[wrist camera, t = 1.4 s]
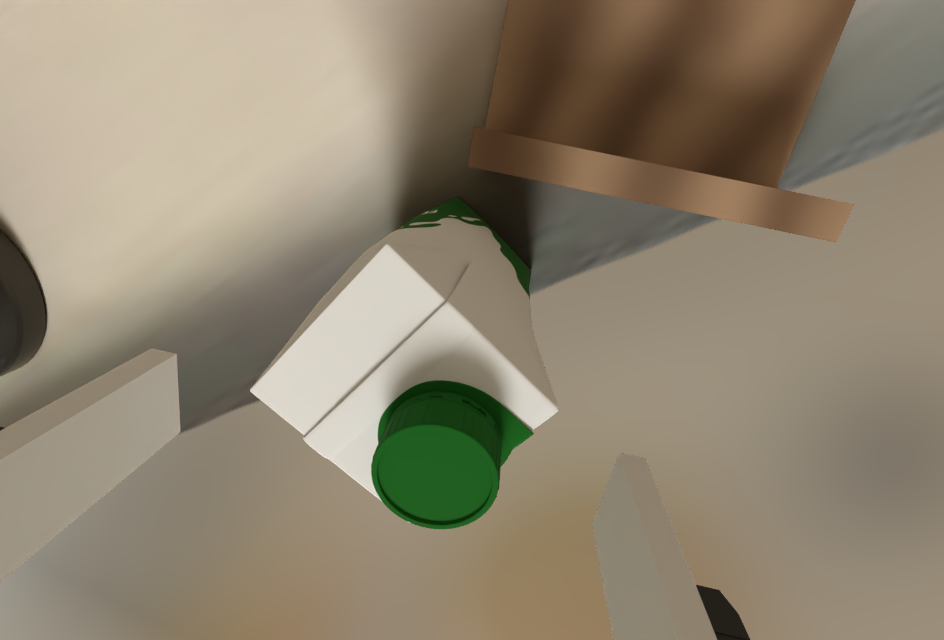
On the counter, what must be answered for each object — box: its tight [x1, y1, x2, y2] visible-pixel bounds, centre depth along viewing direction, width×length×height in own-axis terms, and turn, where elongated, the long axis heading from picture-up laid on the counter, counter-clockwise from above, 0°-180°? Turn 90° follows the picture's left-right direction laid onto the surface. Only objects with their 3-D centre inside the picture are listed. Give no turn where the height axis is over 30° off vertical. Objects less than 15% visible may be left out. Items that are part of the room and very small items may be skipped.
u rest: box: [467, 0, 855, 242], centre depth 23 cm, size 18×16×8 cm
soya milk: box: [250, 196, 559, 529], centre depth 23 cm, size 9×9×20 cm
